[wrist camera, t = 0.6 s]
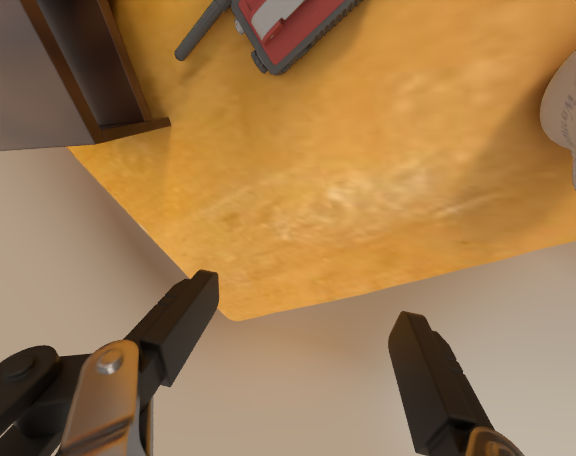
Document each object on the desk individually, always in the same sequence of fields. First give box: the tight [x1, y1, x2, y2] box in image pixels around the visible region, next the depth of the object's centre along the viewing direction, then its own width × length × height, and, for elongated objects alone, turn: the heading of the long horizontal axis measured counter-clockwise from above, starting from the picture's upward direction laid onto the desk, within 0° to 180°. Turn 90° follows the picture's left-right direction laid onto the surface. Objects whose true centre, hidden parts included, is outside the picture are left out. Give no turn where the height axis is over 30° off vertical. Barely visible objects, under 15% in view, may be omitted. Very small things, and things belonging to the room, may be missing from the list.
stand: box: [0, 0, 171, 151], centre depth 21 cm, size 15×12×11 cm
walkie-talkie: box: [175, 0, 363, 75], centre depth 19 cm, size 9×4×20 cm
